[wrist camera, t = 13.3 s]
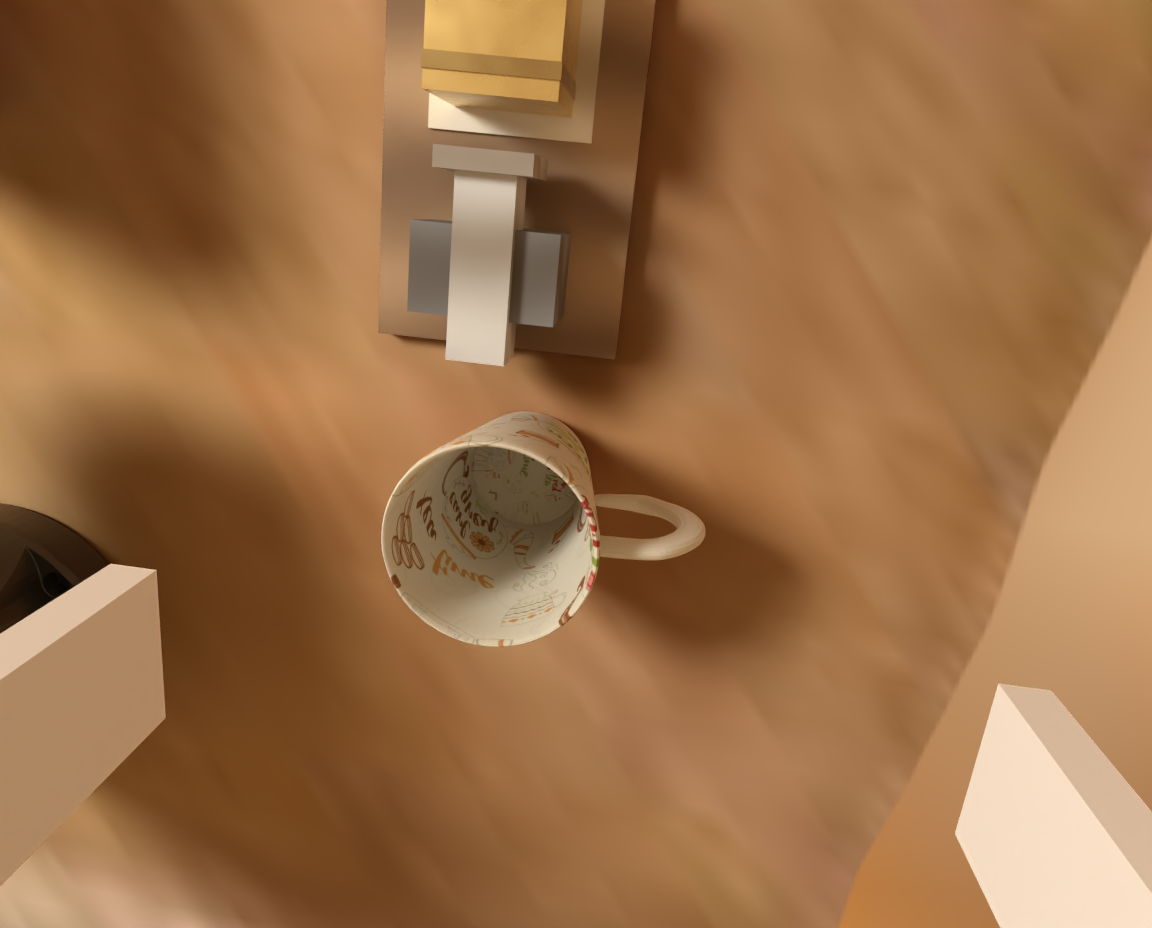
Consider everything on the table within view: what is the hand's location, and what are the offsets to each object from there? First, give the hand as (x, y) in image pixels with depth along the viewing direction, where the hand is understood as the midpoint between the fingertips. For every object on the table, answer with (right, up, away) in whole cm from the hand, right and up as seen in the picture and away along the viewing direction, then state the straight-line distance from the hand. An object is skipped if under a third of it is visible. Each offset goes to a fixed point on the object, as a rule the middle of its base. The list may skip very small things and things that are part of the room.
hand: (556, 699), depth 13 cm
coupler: (-2, +21, +21) cm, 30 cm away
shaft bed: (-2, +22, +22) cm, 31 cm away
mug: (0, +3, +27) cm, 27 cm away
